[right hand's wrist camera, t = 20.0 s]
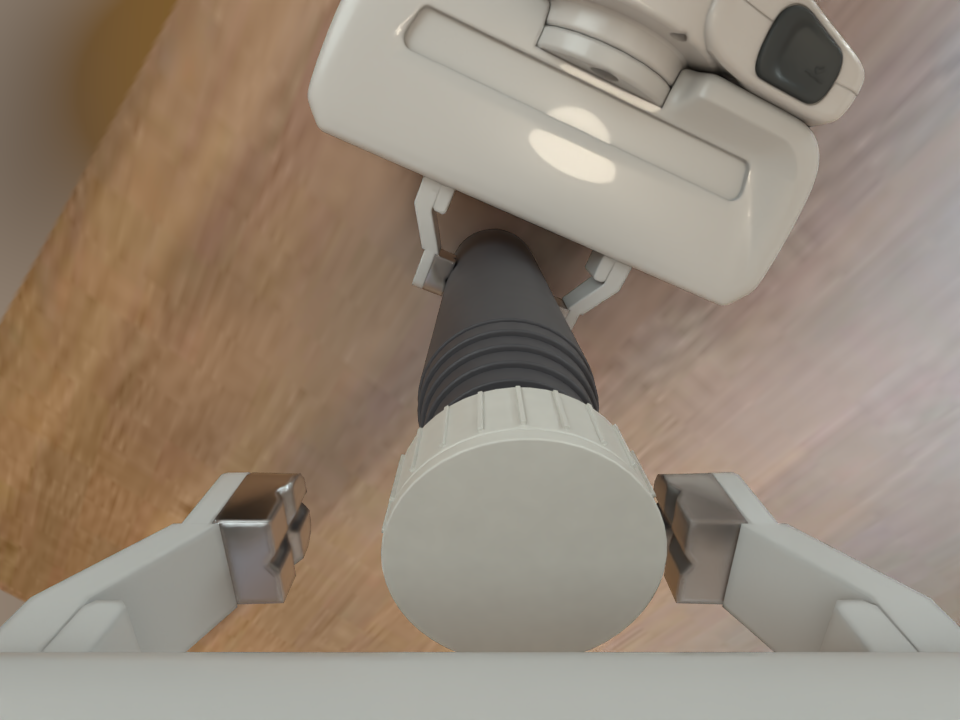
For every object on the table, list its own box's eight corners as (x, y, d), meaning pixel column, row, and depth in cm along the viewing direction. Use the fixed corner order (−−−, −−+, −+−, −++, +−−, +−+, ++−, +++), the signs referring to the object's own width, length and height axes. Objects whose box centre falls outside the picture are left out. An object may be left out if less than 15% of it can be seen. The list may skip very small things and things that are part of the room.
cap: (349, 445, 10) (320, 507, 8) (586, 342, 9) (610, 386, 7) (461, 615, 11) (457, 697, 10) (671, 539, 11) (707, 613, 9)
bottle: (548, 290, 30) (697, 585, 9) (474, 326, 30) (463, 670, 10) (512, 213, 28) (596, 368, 8) (435, 253, 29) (330, 488, 9)
